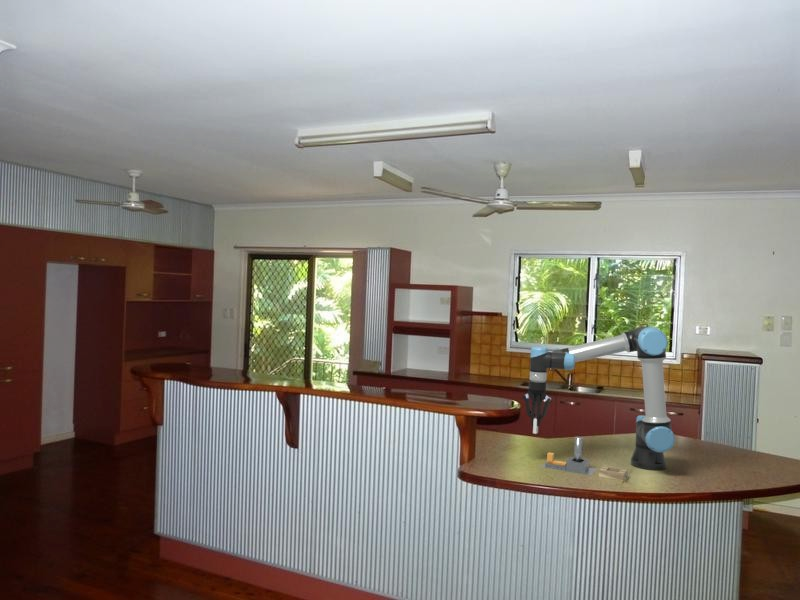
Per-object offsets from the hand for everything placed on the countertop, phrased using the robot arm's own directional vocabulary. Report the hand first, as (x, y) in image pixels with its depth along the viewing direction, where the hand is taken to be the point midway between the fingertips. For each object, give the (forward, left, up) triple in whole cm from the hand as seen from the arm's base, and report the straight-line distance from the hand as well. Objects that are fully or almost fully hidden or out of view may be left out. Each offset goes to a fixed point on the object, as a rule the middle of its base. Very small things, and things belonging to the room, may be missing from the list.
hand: (535, 433), depth 279 cm
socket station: (0, +16, -15) cm, 22 cm away
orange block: (0, +10, -13) cm, 17 cm away
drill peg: (0, +19, -13) cm, 23 cm away
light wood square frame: (0, +34, -15) cm, 37 cm away
